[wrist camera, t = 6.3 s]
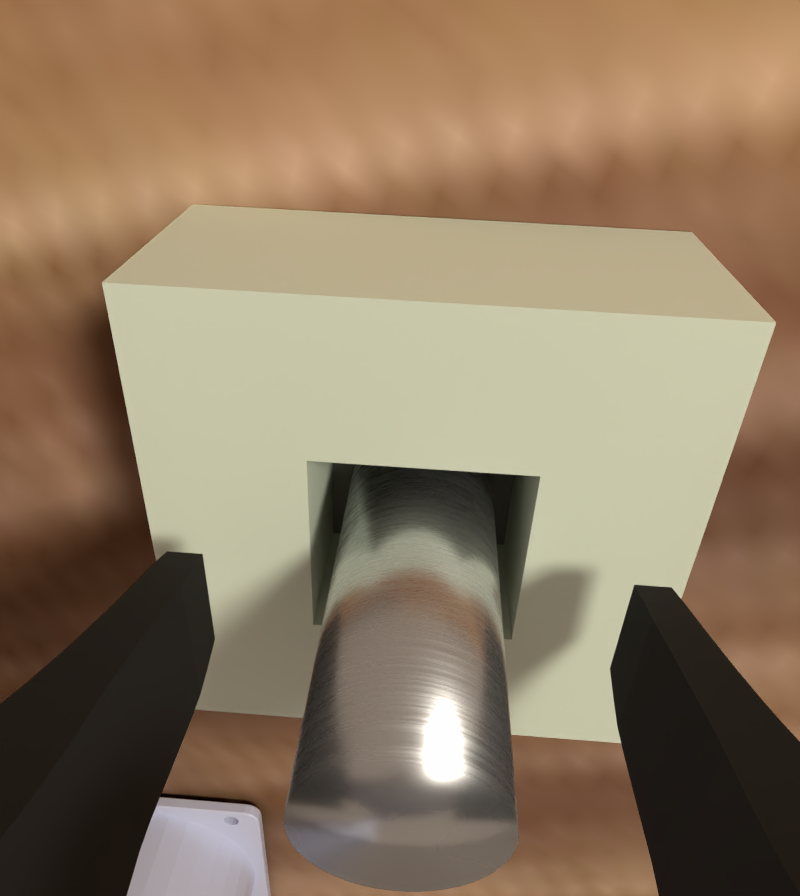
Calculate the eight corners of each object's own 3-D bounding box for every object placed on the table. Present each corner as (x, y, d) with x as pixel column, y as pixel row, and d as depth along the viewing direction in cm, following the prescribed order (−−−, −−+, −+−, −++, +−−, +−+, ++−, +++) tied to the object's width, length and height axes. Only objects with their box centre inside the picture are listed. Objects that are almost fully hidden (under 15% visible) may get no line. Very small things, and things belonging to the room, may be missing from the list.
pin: (359, 524, 17) (297, 886, 10) (349, 414, 15) (268, 757, 9) (488, 526, 17) (512, 896, 10) (493, 413, 15) (525, 765, 8)
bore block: (234, 571, 20) (185, 708, 16) (192, 204, 15) (101, 282, 11) (597, 598, 20) (631, 743, 16) (691, 232, 14) (776, 322, 11)
